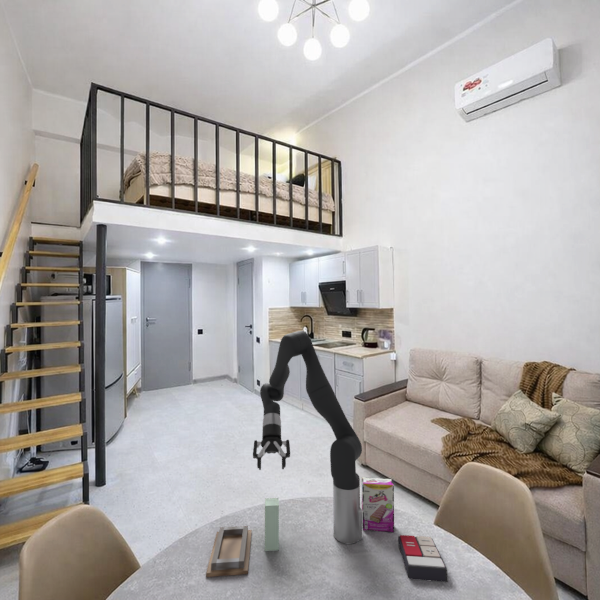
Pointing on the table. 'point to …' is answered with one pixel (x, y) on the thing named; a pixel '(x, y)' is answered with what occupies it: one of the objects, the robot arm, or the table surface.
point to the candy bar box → (377, 504)
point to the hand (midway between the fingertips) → (271, 468)
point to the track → (230, 552)
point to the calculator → (422, 558)
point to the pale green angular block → (271, 524)
